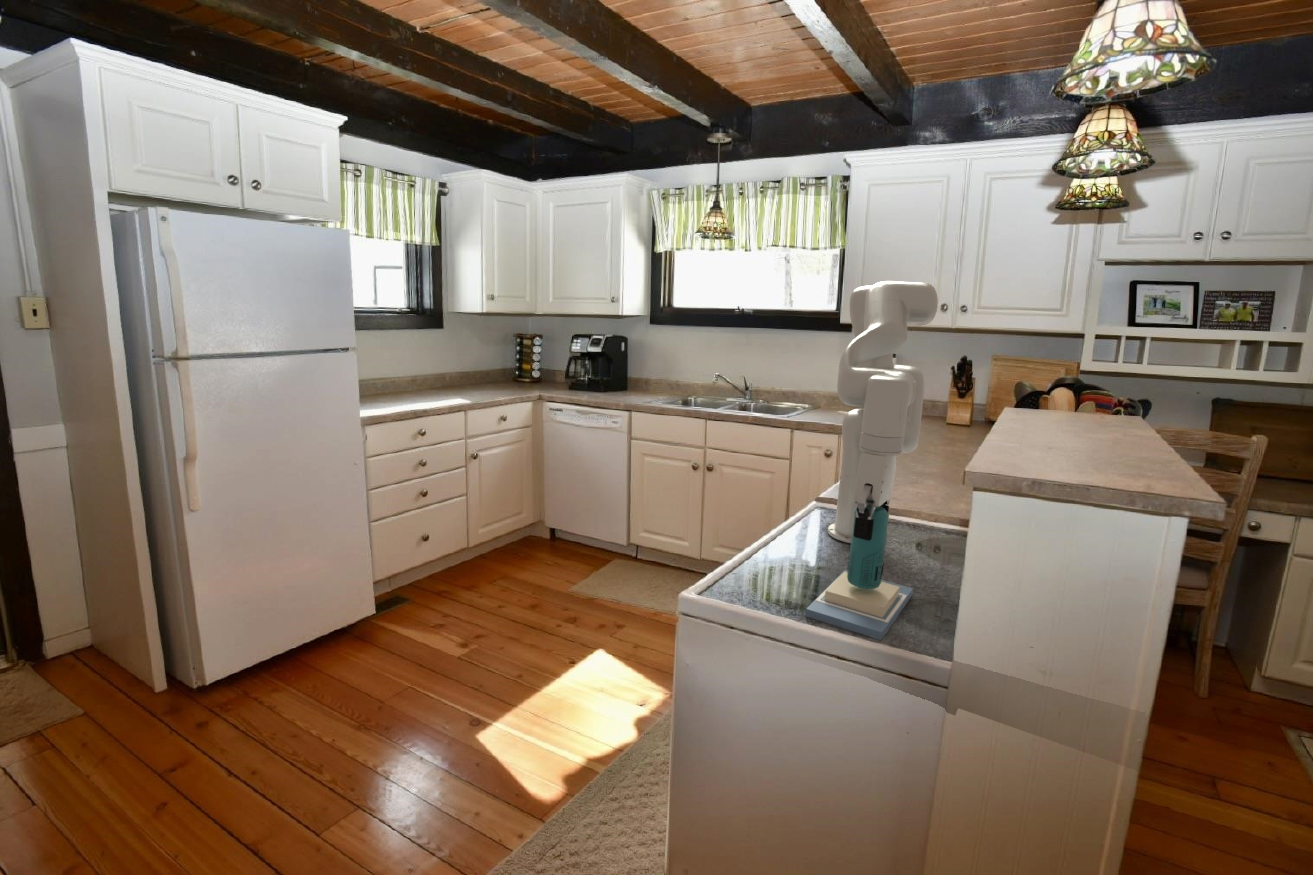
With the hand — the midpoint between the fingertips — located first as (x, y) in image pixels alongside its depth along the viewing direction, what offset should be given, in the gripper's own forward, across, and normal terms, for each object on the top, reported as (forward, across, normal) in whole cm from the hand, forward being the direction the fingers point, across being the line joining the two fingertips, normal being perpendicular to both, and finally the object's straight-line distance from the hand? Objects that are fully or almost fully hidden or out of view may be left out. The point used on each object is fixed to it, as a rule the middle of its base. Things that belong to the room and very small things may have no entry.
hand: (870, 530), depth 130 cm
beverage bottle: (+12, 0, 0) cm, 12 cm away
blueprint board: (+15, 0, 0) cm, 15 cm away
